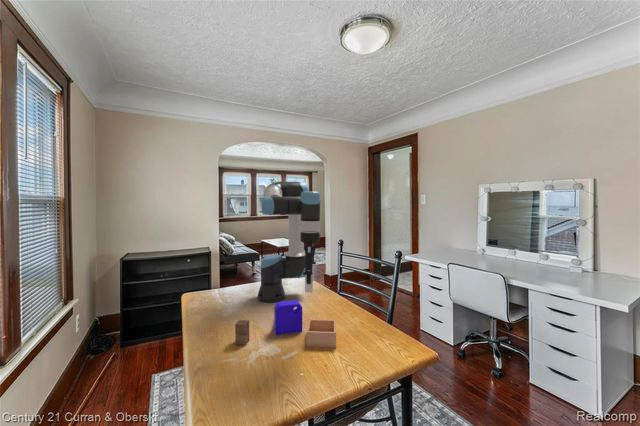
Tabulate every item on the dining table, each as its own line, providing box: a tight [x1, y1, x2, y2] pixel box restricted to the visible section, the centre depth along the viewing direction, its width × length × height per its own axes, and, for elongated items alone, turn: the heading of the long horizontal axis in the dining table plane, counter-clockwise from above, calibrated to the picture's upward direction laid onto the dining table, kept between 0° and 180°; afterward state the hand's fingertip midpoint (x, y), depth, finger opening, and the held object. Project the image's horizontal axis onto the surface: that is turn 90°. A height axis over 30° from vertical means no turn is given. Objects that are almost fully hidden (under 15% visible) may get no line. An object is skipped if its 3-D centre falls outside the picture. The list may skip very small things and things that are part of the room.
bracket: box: [273, 299, 303, 336], centre depth 118 cm, size 18×11×12 cm, turn 17°
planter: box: [305, 318, 337, 349], centre depth 105 cm, size 11×11×6 cm
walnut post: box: [234, 319, 250, 347], centre depth 102 cm, size 4×4×8 cm
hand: (309, 286), depth 105 cm, fingers open, 13 cm apart
